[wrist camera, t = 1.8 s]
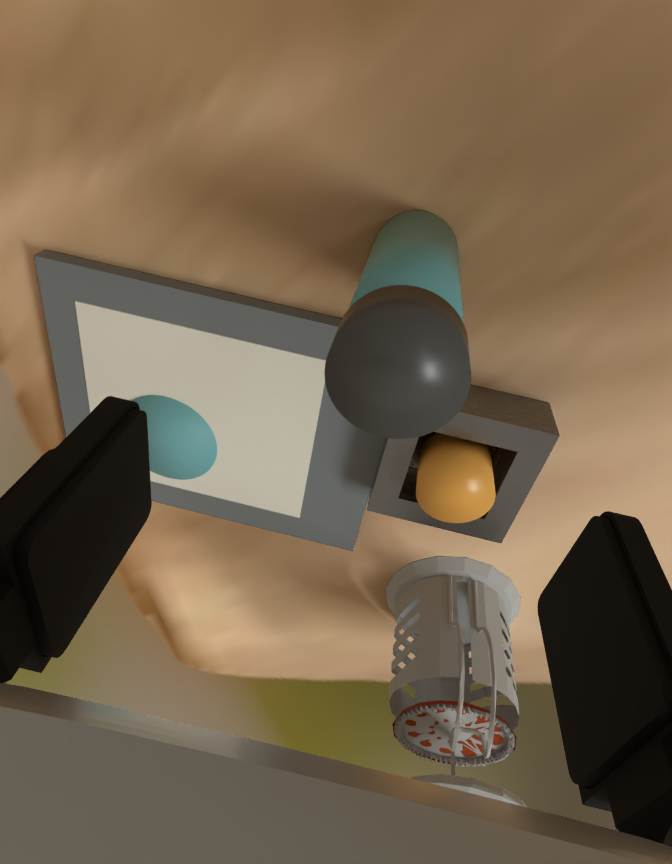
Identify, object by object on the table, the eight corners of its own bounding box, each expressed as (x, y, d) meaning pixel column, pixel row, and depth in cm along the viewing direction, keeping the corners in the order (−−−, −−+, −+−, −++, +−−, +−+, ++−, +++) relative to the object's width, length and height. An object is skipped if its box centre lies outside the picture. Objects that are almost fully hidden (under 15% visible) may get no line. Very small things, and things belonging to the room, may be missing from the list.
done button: (501, 440, 28) (507, 475, 26) (477, 493, 30) (480, 530, 28) (429, 422, 28) (427, 456, 26) (410, 476, 31) (407, 512, 28)
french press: (377, 627, 42) (317, 1147, 22) (397, 526, 35) (335, 1147, 15) (501, 651, 41) (557, 1216, 21) (546, 552, 34) (691, 1249, 14)
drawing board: (413, 335, 27) (412, 346, 26) (354, 540, 37) (352, 553, 36) (45, 249, 28) (31, 256, 27) (82, 472, 37) (72, 483, 36)
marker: (472, 219, 23) (492, 331, 14) (445, 306, 26) (445, 452, 16) (381, 198, 24) (337, 295, 14) (362, 287, 26) (315, 420, 16)
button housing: (549, 403, 28) (559, 435, 26) (496, 507, 33) (501, 543, 30) (403, 368, 28) (400, 397, 26) (372, 477, 33) (367, 510, 31)
